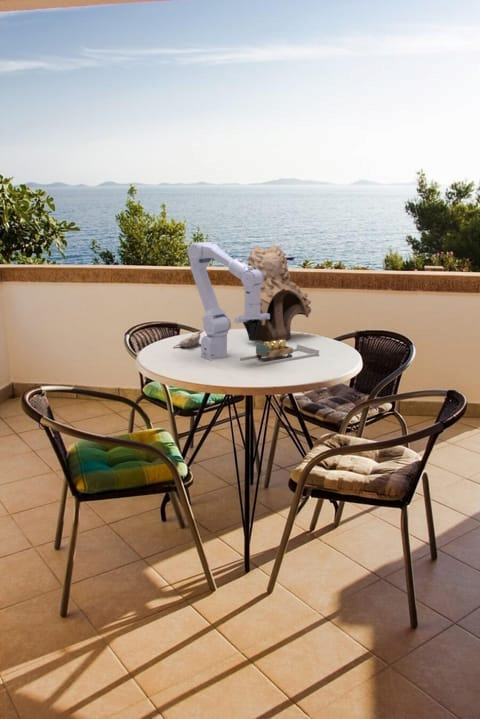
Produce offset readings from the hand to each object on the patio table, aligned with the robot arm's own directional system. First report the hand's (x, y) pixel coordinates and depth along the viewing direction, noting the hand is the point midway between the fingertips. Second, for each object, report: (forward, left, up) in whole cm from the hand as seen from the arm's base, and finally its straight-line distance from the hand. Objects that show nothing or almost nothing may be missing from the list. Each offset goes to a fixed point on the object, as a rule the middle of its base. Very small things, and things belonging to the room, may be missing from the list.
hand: (252, 340), depth 241 cm
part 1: (+7, 0, -6) cm, 9 cm away
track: (+13, 0, -9) cm, 16 cm away
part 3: (+14, 0, -6) cm, 15 cm away
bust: (+33, +30, -9) cm, 46 cm away
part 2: (+11, 0, -6) cm, 12 cm away
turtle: (-4, +39, -10) cm, 40 cm away
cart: (+10, 0, -8) cm, 13 cm away
